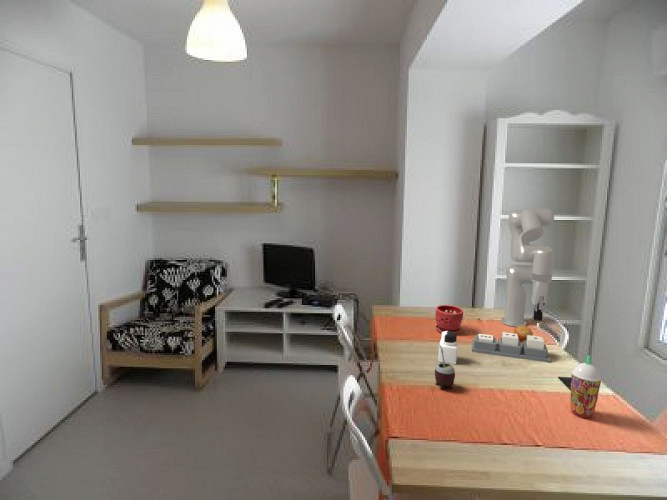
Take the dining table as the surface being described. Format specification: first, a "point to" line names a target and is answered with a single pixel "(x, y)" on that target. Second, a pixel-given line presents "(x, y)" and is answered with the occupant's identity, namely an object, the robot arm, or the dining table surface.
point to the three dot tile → (485, 338)
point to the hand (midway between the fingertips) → (537, 320)
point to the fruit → (522, 332)
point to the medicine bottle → (448, 347)
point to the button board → (510, 350)
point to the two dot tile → (510, 339)
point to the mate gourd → (444, 374)
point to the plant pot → (448, 318)
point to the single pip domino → (535, 342)
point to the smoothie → (584, 389)
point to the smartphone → (566, 381)
